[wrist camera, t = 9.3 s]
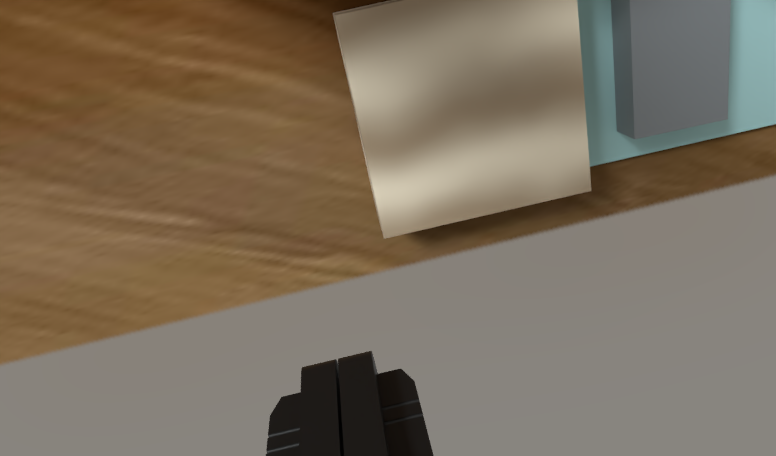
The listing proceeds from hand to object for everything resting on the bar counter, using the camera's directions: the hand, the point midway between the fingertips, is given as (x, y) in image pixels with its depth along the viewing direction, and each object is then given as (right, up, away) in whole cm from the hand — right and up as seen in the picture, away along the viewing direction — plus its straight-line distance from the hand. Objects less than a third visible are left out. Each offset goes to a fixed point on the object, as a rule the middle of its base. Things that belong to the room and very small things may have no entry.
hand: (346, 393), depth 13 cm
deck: (+5, +12, +25) cm, 28 cm away
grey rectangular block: (+18, +14, +24) cm, 33 cm away
